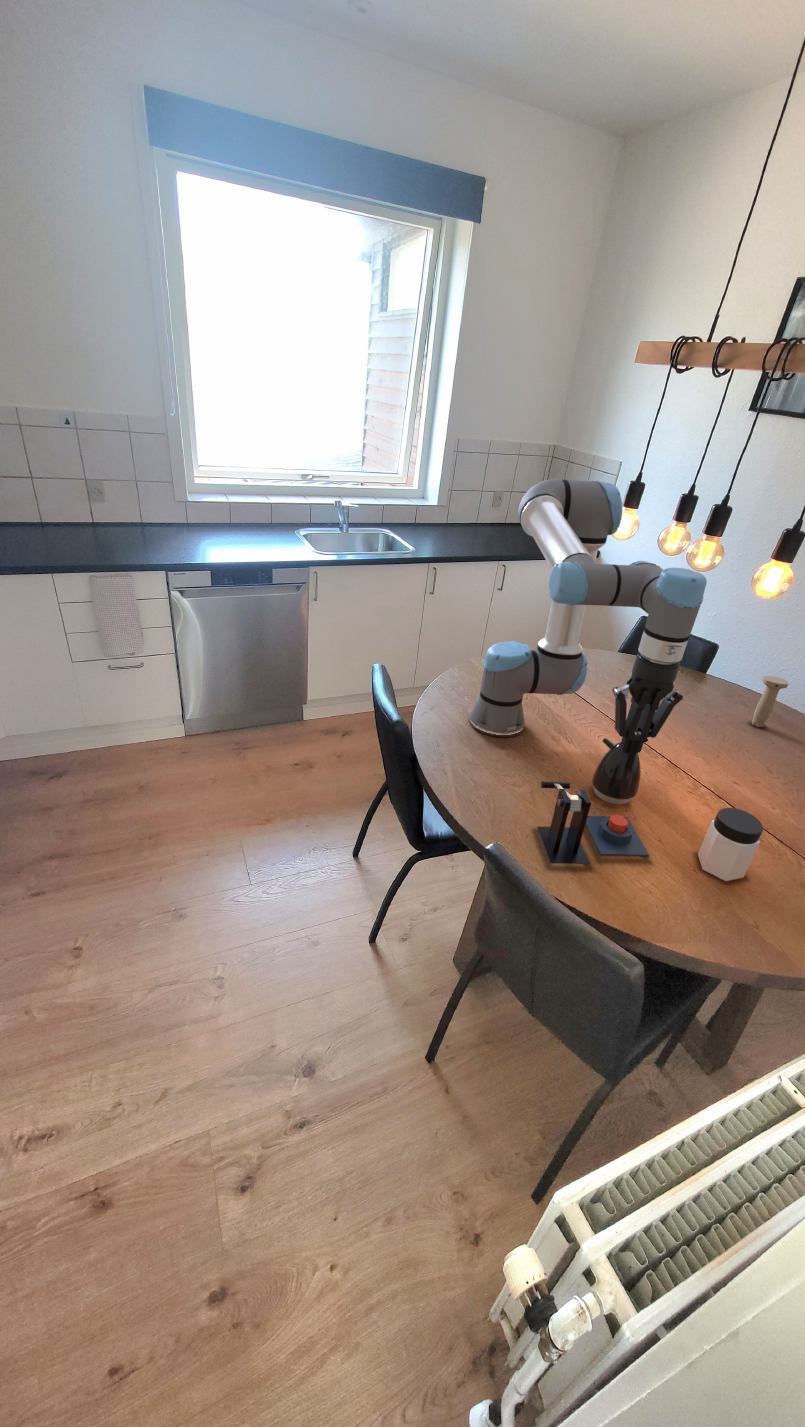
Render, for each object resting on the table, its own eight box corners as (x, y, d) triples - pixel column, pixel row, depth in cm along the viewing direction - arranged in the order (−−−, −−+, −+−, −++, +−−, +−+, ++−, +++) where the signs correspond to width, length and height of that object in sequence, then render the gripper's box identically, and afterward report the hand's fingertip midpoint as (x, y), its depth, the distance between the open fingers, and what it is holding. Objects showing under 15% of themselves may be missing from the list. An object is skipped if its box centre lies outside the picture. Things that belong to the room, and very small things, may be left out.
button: (605, 822, 124) (607, 814, 123) (621, 822, 124) (624, 814, 123) (611, 833, 121) (613, 825, 120) (628, 833, 121) (630, 826, 120)
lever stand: (535, 831, 125) (547, 778, 119) (572, 832, 126) (586, 779, 119) (549, 868, 116) (563, 813, 109) (588, 869, 116) (605, 814, 110)
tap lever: (540, 788, 126) (541, 778, 126) (567, 789, 127) (568, 779, 126) (560, 811, 114) (561, 799, 113) (590, 811, 114) (591, 800, 114)
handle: (770, 731, 172) (790, 685, 165) (746, 726, 174) (765, 681, 167) (767, 724, 176) (786, 679, 169) (744, 719, 178) (762, 674, 171)
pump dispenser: (597, 779, 144) (612, 726, 137) (639, 798, 139) (657, 743, 131) (580, 798, 137) (595, 742, 130) (623, 818, 131) (641, 761, 124)
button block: (580, 822, 129) (584, 807, 127) (624, 823, 130) (629, 808, 128) (599, 860, 119) (603, 845, 117) (646, 861, 119) (652, 846, 118)
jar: (749, 868, 120) (771, 822, 114) (737, 888, 114) (759, 841, 109) (704, 845, 125) (723, 800, 119) (690, 864, 120) (709, 818, 114)
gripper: (632, 664, 102) (600, 774, 114) (703, 667, 103) (664, 776, 115) (616, 646, 108) (587, 753, 120) (684, 649, 109) (648, 755, 121)
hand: (625, 764), depth 117 cm, fingers closed
